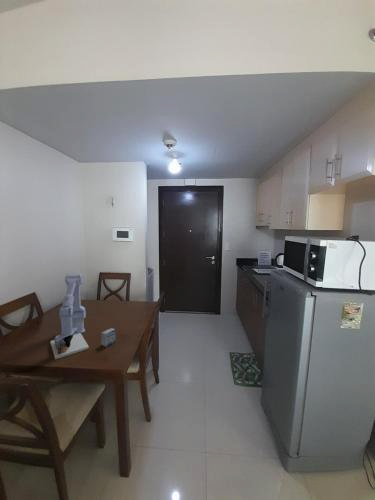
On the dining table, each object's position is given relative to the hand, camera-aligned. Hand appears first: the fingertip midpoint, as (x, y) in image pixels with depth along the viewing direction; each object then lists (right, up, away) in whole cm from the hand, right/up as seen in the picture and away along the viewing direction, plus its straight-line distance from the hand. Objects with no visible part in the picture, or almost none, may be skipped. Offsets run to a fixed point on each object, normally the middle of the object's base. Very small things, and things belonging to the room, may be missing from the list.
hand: (67, 346), depth 132 cm
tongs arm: (-5, 0, +1) cm, 6 cm away
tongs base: (-6, -1, +1) cm, 6 cm away
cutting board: (-2, -2, +5) cm, 6 cm away
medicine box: (+22, -2, +9) cm, 24 cm away
